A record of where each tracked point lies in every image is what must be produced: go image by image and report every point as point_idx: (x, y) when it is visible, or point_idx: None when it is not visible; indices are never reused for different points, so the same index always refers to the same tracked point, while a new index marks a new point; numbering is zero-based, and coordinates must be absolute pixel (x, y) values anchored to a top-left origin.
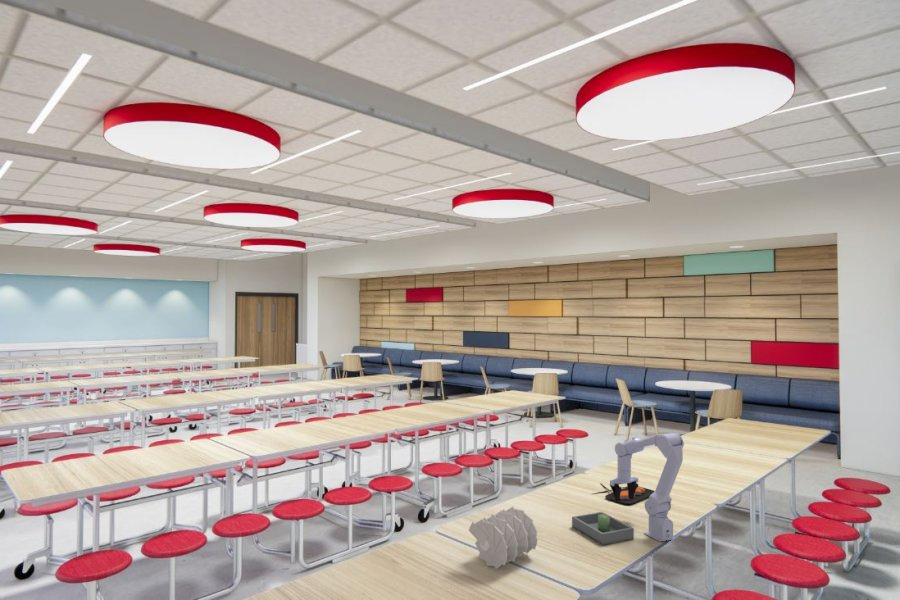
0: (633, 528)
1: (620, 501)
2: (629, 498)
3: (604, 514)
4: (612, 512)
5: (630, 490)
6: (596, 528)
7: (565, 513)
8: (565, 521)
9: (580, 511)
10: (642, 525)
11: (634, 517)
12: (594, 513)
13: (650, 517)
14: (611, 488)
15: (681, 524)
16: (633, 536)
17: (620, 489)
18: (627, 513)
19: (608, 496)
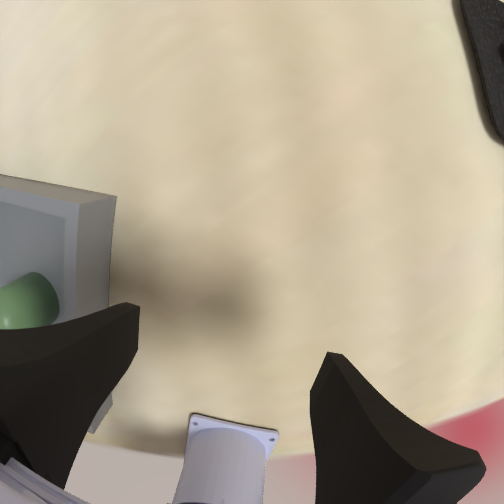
0: (92, 433)
1: (492, 79)
2: (322, 363)
3: (5, 317)
4: (324, 120)
5: (337, 446)
6: (28, 261)
7: (74, 15)
8: (7, 104)
9: (154, 10)
10: (283, 367)
11: (365, 272)
12: (29, 201)
13: (173, 499)
14: (2, 330)
15: (424, 426)
16: (106, 411)
17: (58, 467)
18: (394, 200)
19: (481, 4)
